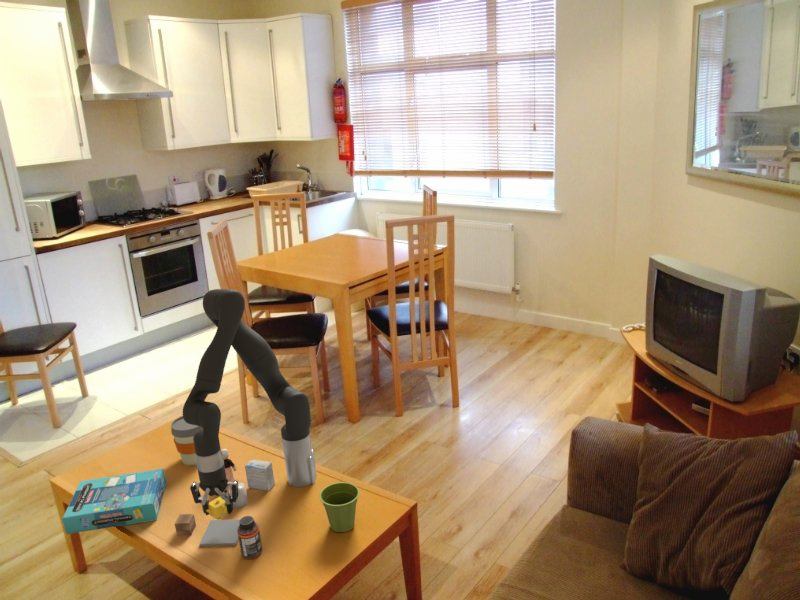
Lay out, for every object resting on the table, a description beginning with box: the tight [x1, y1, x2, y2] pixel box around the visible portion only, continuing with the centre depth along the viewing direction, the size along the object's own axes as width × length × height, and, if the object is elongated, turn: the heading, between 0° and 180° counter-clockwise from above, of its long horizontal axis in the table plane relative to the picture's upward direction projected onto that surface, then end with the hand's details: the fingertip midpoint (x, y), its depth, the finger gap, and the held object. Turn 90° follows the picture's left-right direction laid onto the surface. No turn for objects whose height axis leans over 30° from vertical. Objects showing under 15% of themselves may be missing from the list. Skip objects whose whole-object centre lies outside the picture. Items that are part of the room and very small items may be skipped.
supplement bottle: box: [237, 515, 263, 560], centre depth 189 cm, size 6×6×11 cm
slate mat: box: [198, 518, 241, 547], centre depth 200 cm, size 11×11×1 cm
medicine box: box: [244, 459, 276, 492], centre depth 221 cm, size 8×4×9 cm, turn 71°
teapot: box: [207, 496, 228, 520], centre depth 197 cm, size 8×6×5 cm
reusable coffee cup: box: [170, 415, 203, 466], centre depth 240 cm, size 13×13×15 cm
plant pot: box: [319, 481, 361, 533], centre depth 198 cm, size 12×12×11 cm
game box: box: [61, 468, 167, 535], centre depth 215 cm, size 20×6×27 cm
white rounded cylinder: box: [228, 482, 249, 509], centre depth 213 cm, size 5×5×6 cm
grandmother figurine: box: [221, 448, 237, 482], centre depth 224 cm, size 8×4×13 cm, turn 84°
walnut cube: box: [174, 513, 197, 537], centre depth 202 cm, size 4×4×4 cm
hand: (219, 513), depth 198 cm, fingers closed on teapot, 6 cm apart
